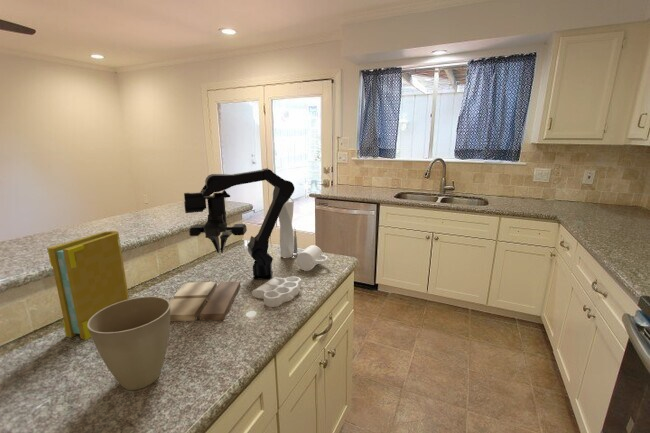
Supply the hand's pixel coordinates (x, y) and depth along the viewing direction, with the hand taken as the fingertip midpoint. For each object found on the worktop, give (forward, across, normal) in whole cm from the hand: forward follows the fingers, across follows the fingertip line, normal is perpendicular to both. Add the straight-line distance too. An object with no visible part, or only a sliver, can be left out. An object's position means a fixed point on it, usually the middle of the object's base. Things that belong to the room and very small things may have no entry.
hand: (220, 252), depth 114 cm
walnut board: (+12, +4, -14) cm, 19 cm away
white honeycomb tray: (+13, +22, -9) cm, 27 cm away
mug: (+12, +34, +14) cm, 39 cm away
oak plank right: (+12, -7, -8) cm, 16 cm away
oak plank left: (+12, -7, -20) cm, 24 cm away
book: (+12, -28, -24) cm, 39 cm away
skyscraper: (+12, +22, +28) cm, 38 cm away
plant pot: (+12, -5, -48) cm, 50 cm away
